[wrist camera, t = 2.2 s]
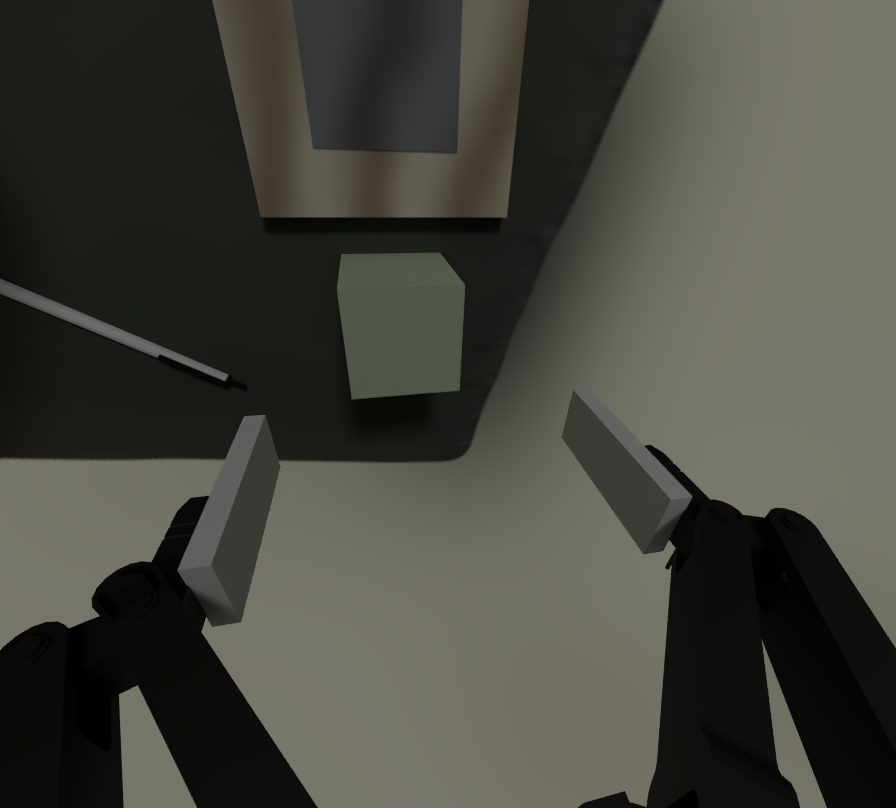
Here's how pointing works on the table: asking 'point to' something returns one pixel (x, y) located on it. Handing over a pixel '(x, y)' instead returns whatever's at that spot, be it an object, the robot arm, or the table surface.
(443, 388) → the sage block
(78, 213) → the table surface
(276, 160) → the beige flat square slab
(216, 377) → the pen
